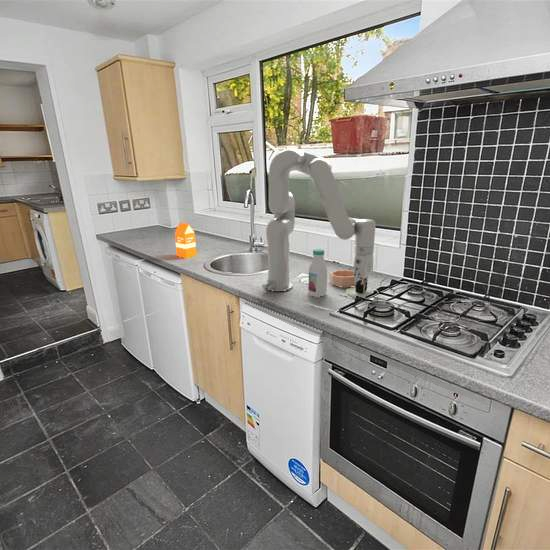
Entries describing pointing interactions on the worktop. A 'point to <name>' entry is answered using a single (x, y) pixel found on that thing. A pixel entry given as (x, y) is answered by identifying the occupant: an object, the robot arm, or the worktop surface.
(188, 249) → the orange juice
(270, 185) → the robot arm
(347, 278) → the bowl
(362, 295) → the lid
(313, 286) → the milk bottle
